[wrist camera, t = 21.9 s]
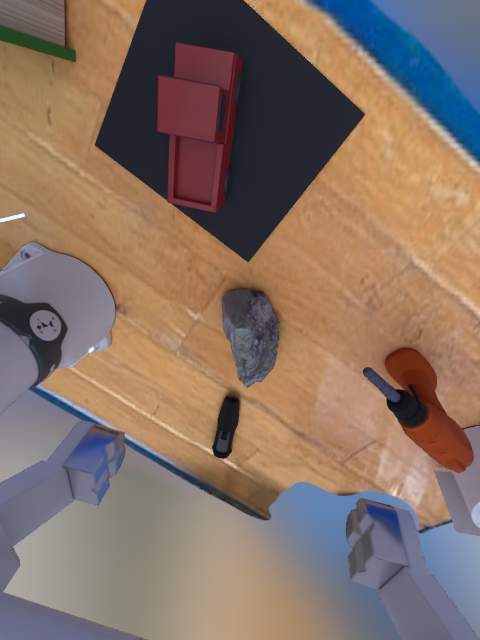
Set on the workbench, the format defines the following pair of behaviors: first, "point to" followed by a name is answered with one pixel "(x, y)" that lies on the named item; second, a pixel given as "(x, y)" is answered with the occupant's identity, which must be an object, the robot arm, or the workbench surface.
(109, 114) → the mat
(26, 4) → the hardback book
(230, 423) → the electric trimmer
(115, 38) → the workbench surface
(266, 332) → the mineral rock
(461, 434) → the toy drill
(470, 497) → the toilet tissue
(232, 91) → the toy pickup truck
